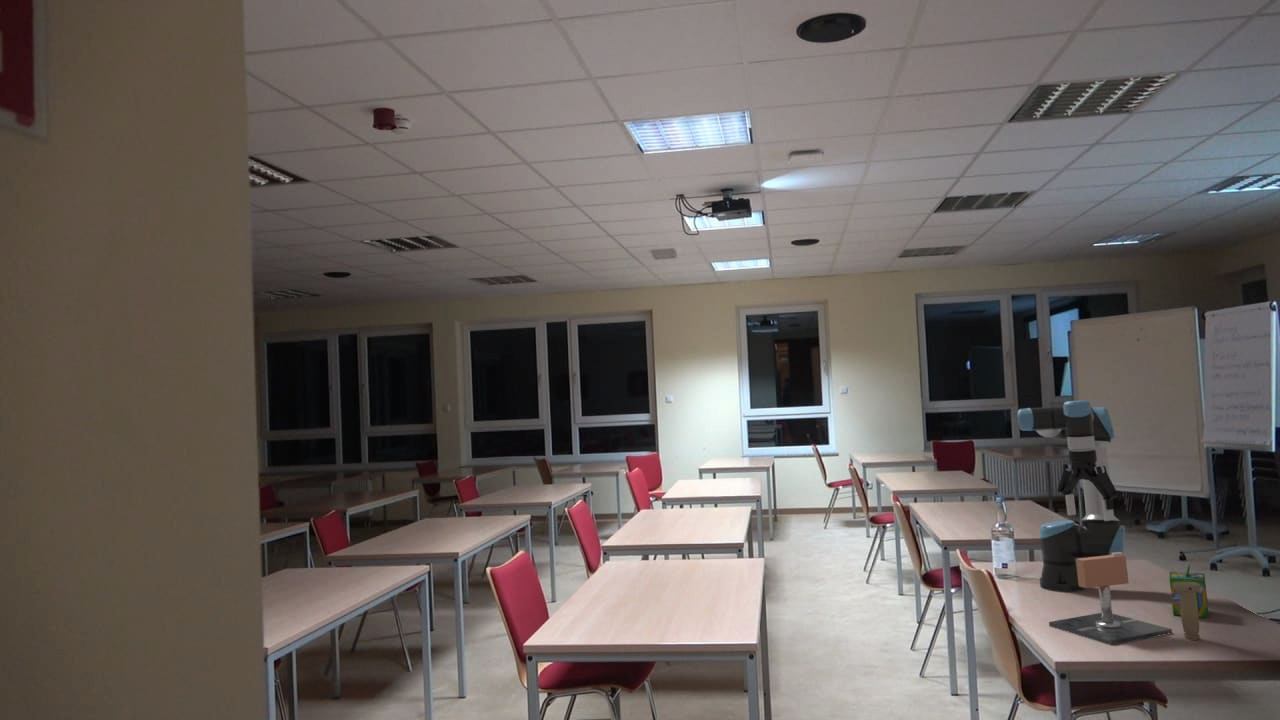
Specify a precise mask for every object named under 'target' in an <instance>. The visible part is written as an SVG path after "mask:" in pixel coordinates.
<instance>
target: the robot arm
mask: <svg viewBox="0 0 1280 720" xmlns="http://www.w3.org/2000/svg"><path fill="white" fill-rule="evenodd" d="M1017 423H1018V424H1017V425H1018V428H1019V429H1020V430H1021V431H1023V432H1024V431H1026V432H1027V431H1028V432H1032V431H1033V432H1034V431H1035V432H1036V433H1037V434H1038V435H1039V436H1042V437H1044V438H1048V439H1053V440H1058V441H1067V449H1069V451H1068V458H1069V459H1068V460H1069V462H1070V463H1065V464H1063V465H1062V473H1061V474H1062V475H1061V477H1060V481H1059V483H1058V488H1057V492H1058V493H1061V494H1063V498H1064V504H1065V505H1066V506H1065V507H1066V514H1067V516H1075V515H1077V513H1076V512H1077V511H1076V504H1075V502H1076V501H1075V494H1074V493H1073V491H1074V489H1075V487H1076V486H1077V485H1078V483H1079V481H1080V480H1082V486H1083V497H1084V507H1085V516H1084V517H1083V518H1082V519H1081V524H1076V522H1075V521H1074V520H1072V519H1069V520H1068V519H1066V520H1065V519H1064V520H1057V521H1056V520H1055V521H1049V522H1046V523H1043V524H1041V526H1040V527H1039V539H1040V544H1041V545H1040V546H1041V553H1042V555H1041V556H1042V564H1043V565H1042V570H1041V575H1040V577H1039V585H1040V588H1043V589H1046V590H1049V591H1050V590H1051V591H1055V590H1057V591H1056V592H1078V591H1079V590H1080V591H1083V590H1084V589H1085V590H1086V589H1088V588H1083V587H1080V586H1079V584H1078V575H1077V566H1076V559H1079V558H1088V557H1097V556H1106V555H1111V553H1116V552H1122V553H1123V555H1124V556H1125V548H1126V547H1125V546H1126V545H1125V544H1126V526H1125V525H1122V524H1120V523H1121V522H1120V520H1119V518H1117V517H1116V516H1115V512H1114V499H1115V498H1118V497H1119V493H1118V491H1117V489H1116V487H1115V485H1114V484H1113V482H1112V480H1111V478H1110V477H1111V476H1110V475H1111V474H1110V467H1109V457H1108V448H1109V447H1110V446H1111V444H1112V440H1114V439H1115V438H1116V435H1115V431H1114V428H1113V422H1112V420H1111V416H1110V413H1109V410H1108V409H1107V408H1106V407H1104V406H1095V407H1094V406H1091V403H1090V401H1089V400H1085V399H1083V400H1081V399H1080V400H1078V399H1077V400H1070V401H1069V400H1068V401H1065V402H1064V403H1063V405H1062V406H1061V405H1060V406H1049V407H1027V408H1019V410H1017Z"/></svg>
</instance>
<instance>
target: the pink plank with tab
mask: <svg viewBox="0 0 1280 720" xmlns="http://www.w3.org/2000/svg"><path fill="white" fill-rule="evenodd" d="M1076 566H1077V575H1078V584H1079V586H1080V587H1083V588H1087V589H1089V588H1091V589H1092V588H1099V587H1101V586H1109V587H1111V586H1117V585H1126V584H1127V585H1128V584H1130V583H1129V576H1128V566H1127V557H1126V555H1125V554H1124V555H1123V553H1122V552H1116V553H1111V555H1106V556H1097V557H1088V558H1079V559H1076Z"/></svg>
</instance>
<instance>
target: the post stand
mask: <svg viewBox="0 0 1280 720" xmlns="http://www.w3.org/2000/svg"><path fill="white" fill-rule="evenodd" d="M1110 589H1111V588H1110V586H1101V587H1098V593H1099V596H1098V597H1099V603H1100V610H1101V611H1100V612H1098V613H1092V614H1088V615H1087V614H1086V615H1081V616H1075V617H1070V618H1063V619H1057V620H1053V621H1049V622H1048V625H1049V627H1051V626H1052V628H1054V627H1055V629H1057V628H1058V630H1061V629H1062V631H1064V630H1065V631H1064V632H1067V631H1069V632H1068V633H1070V632H1071V633H1072V634H1074V633H1075V635H1077V634H1078V636H1080V635H1081V637H1083V636H1085V637H1084V638H1087V637H1088V638H1087V639H1090V638H1091V640H1093V639H1094V641H1096V640H1097V642H1100V643H1104V644H1107V645H1109V644H1110V645H1109V646H1113V645H1118V644H1123V643H1124V644H1125V643H1129V641H1130V642H1135V641H1138V640H1139V639H1140V640H1143V639H1145V640H1146V639H1149V638H1148V637H1151V638H1155V637H1154V636H1156V637H1159V636H1158V635H1161V636H1164V635H1163V634H1166V635H1169V634H1168V633H1172V634H1173V630H1172V628H1170V627H1166V626H1163V625H1162V626H1161V625H1159V624H1158V625H1157V624H1154V623H1150V622H1146V621H1143V620H1139V619H1134V618H1132V617H1128V616H1127V617H1126V616H1123V615H1119V614H1115V613H1113V608H1112V607H1113V606H1112V599H1111V590H1110ZM1134 640H1135V641H1134ZM1140 640H1139V641H1140Z"/></svg>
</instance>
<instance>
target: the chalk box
mask: <svg viewBox="0 0 1280 720" xmlns="http://www.w3.org/2000/svg"><path fill="white" fill-rule="evenodd" d="M1190 569H1191V565H1190V563H1188V565H1187V569H1186V572H1183V571H1182V572H1181V571H1169V585H1170V588H1169V589H1170V595H1171V596H1170V597H1171V606H1172V607H1171V608H1172V615H1173V616H1180V617H1181V603H1180V593H1179V591H1177V590H1175V589H1174V588H1173V587H1172V583H1174V582H1195V583H1198V584H1200V589H1199V590H1198V591H1196V592H1195V593H1194V596H1195V602H1196V608H1197V613H1198V618H1204V617H1209V618H1210V612H1209V610H1210V609H1209V603H1208V595H1207V594H1208V593H1207V585H1206V577H1205V573H1198V572H1197V573H1196V572H1194V573H1193V572H1190Z"/></svg>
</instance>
